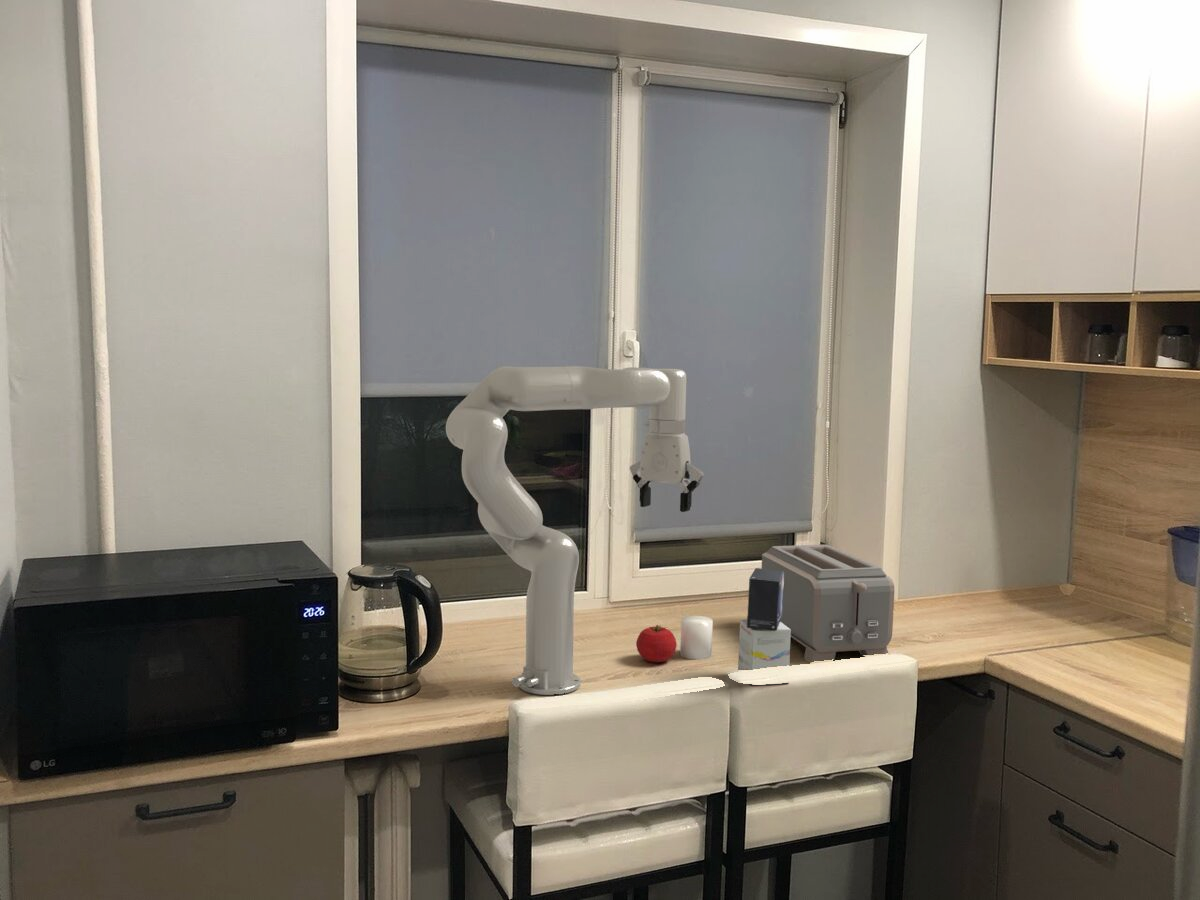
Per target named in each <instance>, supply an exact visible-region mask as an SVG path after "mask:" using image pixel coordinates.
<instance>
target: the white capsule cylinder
mask: <svg viewBox="0 0 1200 900" xmlns="http://www.w3.org/2000/svg"><path fill="white" fill-rule="evenodd" d="M713 620H714V619H712V618H711V617H708V616H704V615H685V616H683V617H681V619H680V642H679V644H680V647H679V648H680V649H679V650H680V651H679V652H680V653H679V655H680V656H681V657H682V658H685V659H687V660H696V661H699V660H700V661H701V660H702V659H703V660H708V659H711V658H712V655H713V653H712V652H713V625H714V624H713V623H714V621H713Z"/></svg>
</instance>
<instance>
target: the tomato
mask: <svg viewBox="0 0 1200 900" xmlns="http://www.w3.org/2000/svg"><path fill="white" fill-rule="evenodd" d="M668 628H669V627H668V626H667V627H662V626H661V625H658V624H656V626H648V627H646V628H644V629H642V630H641V632H640V633H639V635H638V636H637V638H636V641H635V642H636V650H637V652H638V653H639V655H640V657H641V658H643V659H644V660H645V661H648V662H651V663H663V662H667V661H668V660H669V659H670V658H672V657H673V655H674V654H675V653H676V649H677V646H678V645H677V640H676V637H675V636H674V634H673V632H672V631H671V630H670V629H668Z"/></svg>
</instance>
